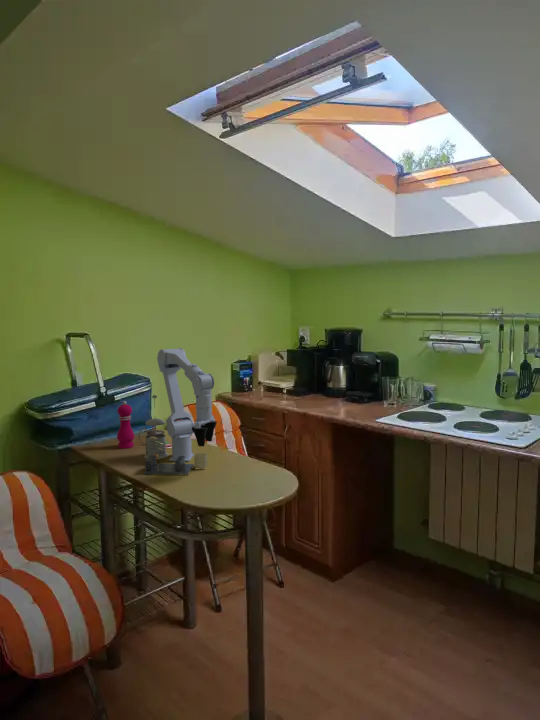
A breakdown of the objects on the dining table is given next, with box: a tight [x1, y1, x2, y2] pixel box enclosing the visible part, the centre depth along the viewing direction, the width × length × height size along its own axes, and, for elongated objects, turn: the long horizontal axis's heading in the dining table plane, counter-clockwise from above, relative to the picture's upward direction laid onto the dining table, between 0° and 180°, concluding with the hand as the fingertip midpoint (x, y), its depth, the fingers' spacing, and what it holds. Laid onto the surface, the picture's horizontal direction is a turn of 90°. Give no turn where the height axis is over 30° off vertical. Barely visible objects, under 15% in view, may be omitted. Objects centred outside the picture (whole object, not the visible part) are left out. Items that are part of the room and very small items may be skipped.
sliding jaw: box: [144, 454, 159, 470], centre depth 200 cm, size 12×2×4 cm, turn 176°
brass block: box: [193, 452, 208, 469], centre depth 200 cm, size 4×4×5 cm
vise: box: [143, 456, 195, 476], centre depth 197 cm, size 10×16×4 cm, turn 86°
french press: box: [137, 394, 169, 460], centre depth 214 cm, size 10×12×25 cm
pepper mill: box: [116, 400, 135, 450], centre depth 229 cm, size 7×7×20 cm
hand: (205, 443), depth 196 cm, fingers open, 7 cm apart
